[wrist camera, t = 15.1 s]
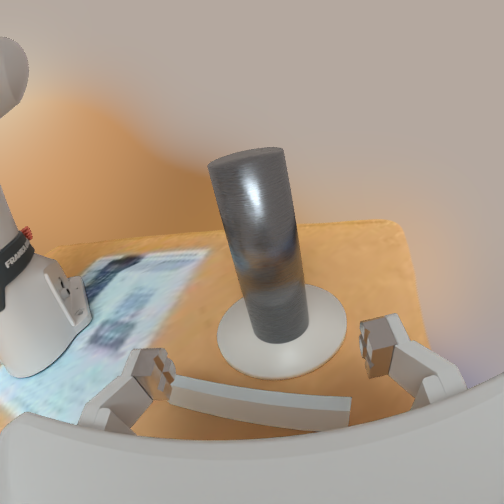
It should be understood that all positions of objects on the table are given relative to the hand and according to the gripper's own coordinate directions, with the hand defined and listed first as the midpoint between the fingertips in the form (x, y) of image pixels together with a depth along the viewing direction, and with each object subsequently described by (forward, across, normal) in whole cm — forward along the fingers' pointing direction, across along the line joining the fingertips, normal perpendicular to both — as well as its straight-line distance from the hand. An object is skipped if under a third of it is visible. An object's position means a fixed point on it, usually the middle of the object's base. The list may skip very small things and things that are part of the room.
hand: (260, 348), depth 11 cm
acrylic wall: (+2, +3, +10) cm, 11 cm away
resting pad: (+12, 0, +10) cm, 16 cm away
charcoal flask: (+12, 0, +10) cm, 15 cm away
